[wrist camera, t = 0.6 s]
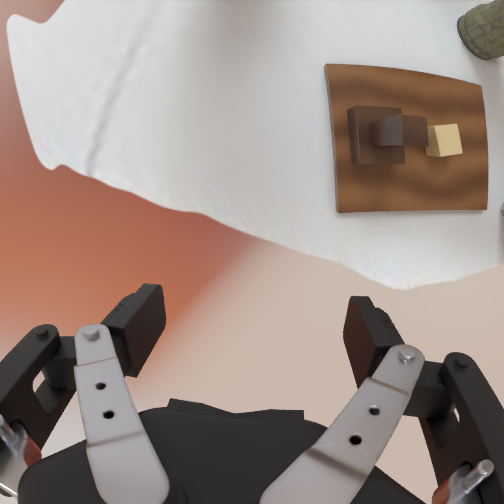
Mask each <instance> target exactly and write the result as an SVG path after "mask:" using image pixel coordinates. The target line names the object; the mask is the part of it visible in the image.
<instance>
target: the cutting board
mask: <svg viewBox="0 0 504 504" xmlns="http://www.w3.org/2000/svg"><path fill="white" fill-rule="evenodd" d="M324 68H325V76H326V83H327V91H328V100H329V109H330V119H331V129H332V141H333V155H334V171H335V191H336V211H337V212H338V213H349V212H373V211H405V210H487V201H488V143H487V129H486V118H485V109H484V101H483V94H482V88H481V86H480V85H477V84H473V83H469V82H466V81H462V80H457V79H453V78H449V77H444V76H439V75H434V74H429V73H423V72H417V71H411V70H404V69H396V68H388V67H378V66H366V65H350V64H326V65H325V67H324ZM355 105H362V106H382V107H396V108H401V111H402V114H404V115H415V116H424V117H427V127H429V126H438V125H448V124H457V126H458V130H459V135H460V140H461V146H462V152H463V153H462V154H456V155H449V156H443V157H437V156H427V155H426V150H425V147H404V148H405V165H402V164H355V163H351V150H350V137H349V125H348V115H347V110H348V109H350V108H351V107H353V106H355Z"/></svg>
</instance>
